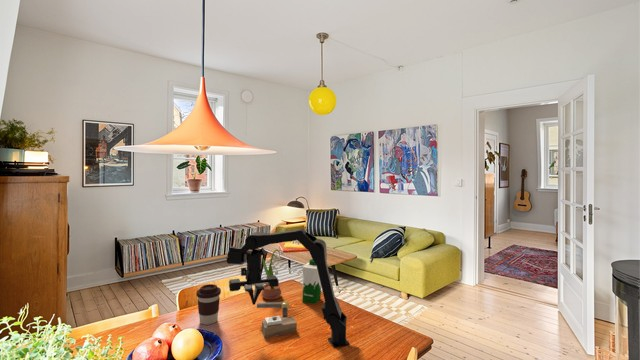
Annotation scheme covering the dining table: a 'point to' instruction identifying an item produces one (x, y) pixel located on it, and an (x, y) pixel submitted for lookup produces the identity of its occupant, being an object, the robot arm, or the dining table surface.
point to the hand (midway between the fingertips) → (253, 304)
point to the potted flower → (270, 291)
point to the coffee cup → (208, 303)
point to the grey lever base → (280, 326)
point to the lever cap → (273, 321)
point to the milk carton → (311, 283)
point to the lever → (273, 305)
